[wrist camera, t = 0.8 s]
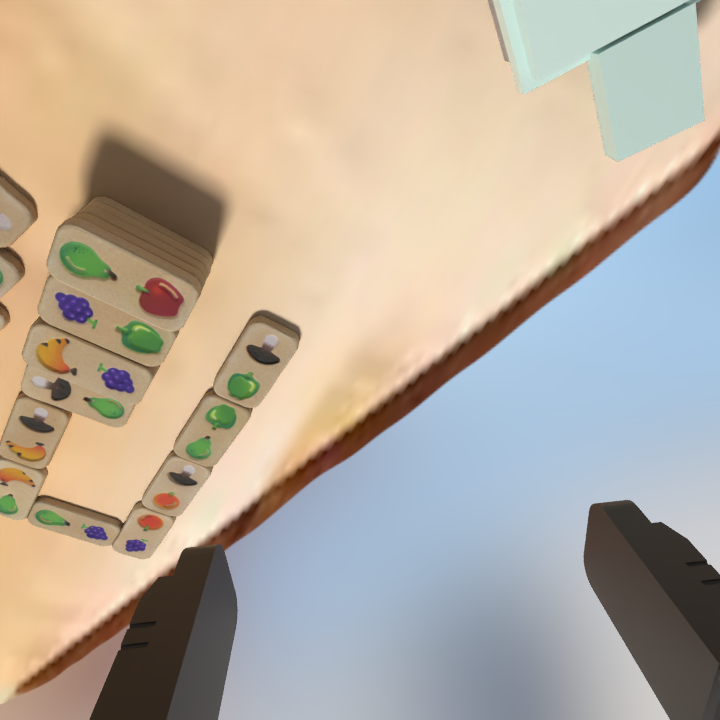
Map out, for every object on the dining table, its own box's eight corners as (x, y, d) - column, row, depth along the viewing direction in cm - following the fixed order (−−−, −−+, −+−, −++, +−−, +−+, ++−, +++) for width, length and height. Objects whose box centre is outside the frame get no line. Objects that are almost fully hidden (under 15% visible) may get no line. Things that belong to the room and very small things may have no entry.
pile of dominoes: (-106, 76, 27) (-195, 88, 22) (322, 307, 36) (321, 349, 32) (-154, 462, 42) (-211, 515, 38) (153, 552, 52) (136, 603, 47)
